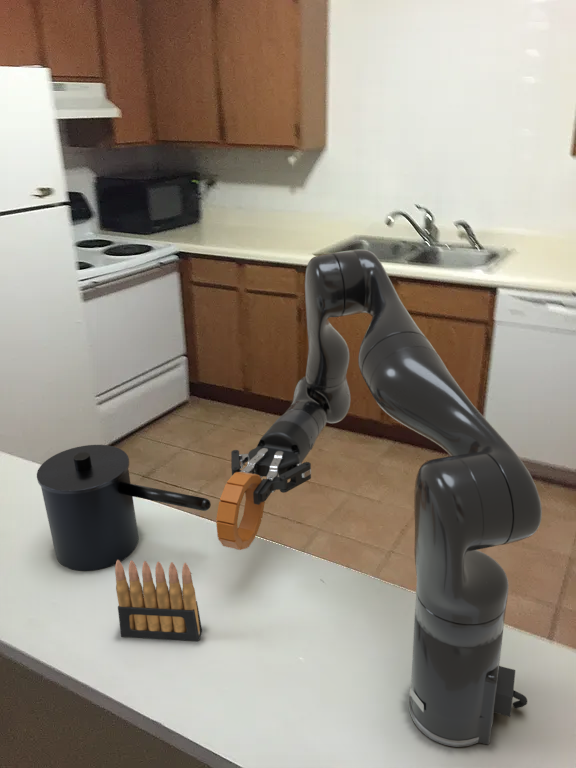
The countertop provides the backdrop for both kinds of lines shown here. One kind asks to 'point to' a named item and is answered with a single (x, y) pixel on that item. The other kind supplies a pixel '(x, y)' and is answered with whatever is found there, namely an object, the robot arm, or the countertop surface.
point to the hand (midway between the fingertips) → (245, 496)
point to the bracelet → (230, 510)
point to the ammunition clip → (157, 604)
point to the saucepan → (96, 505)
